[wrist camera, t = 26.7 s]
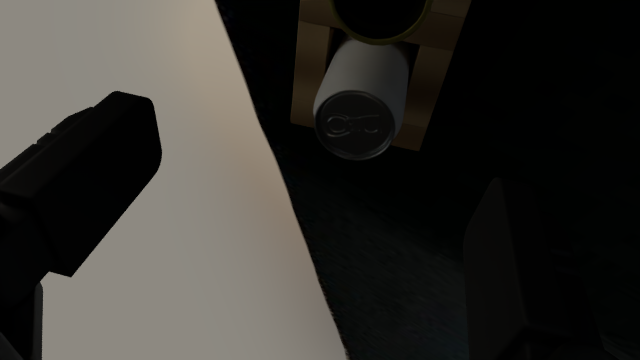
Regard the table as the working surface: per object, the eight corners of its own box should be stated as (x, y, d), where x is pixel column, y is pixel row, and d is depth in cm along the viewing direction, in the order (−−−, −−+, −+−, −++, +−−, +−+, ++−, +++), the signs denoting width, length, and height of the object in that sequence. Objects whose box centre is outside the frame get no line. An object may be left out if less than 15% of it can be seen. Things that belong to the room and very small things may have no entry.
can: (333, 22, 36) (299, 87, 27) (409, 14, 34) (399, 81, 25) (343, 89, 40) (316, 165, 31) (412, 85, 38) (404, 165, 29)
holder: (330, -185, 27) (315, -187, 24) (514, -156, 26) (525, -154, 23) (302, 98, 41) (290, 122, 38) (420, 124, 40) (418, 151, 37)
